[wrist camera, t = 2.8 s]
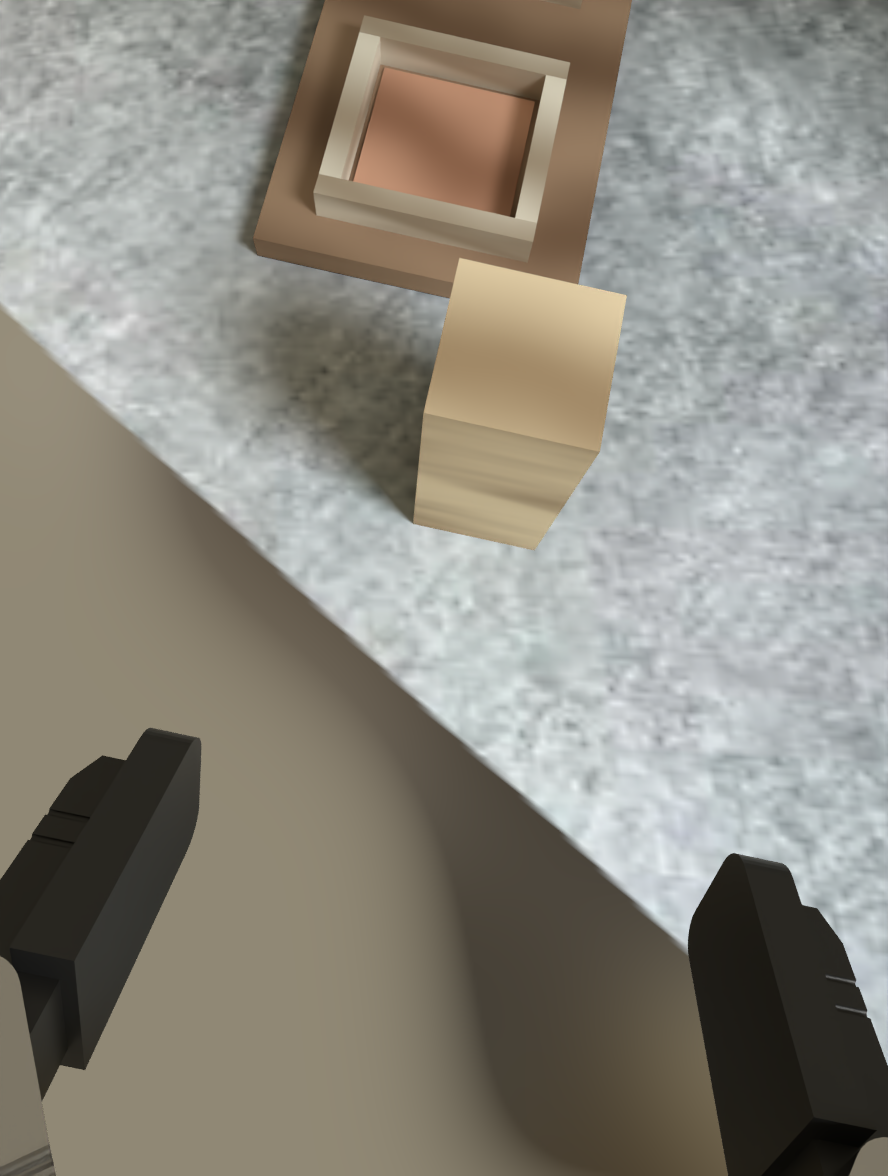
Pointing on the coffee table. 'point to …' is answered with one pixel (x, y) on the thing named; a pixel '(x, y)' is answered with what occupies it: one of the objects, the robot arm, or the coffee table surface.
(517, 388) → the maple block
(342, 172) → the baseboard
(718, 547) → the coffee table surface
